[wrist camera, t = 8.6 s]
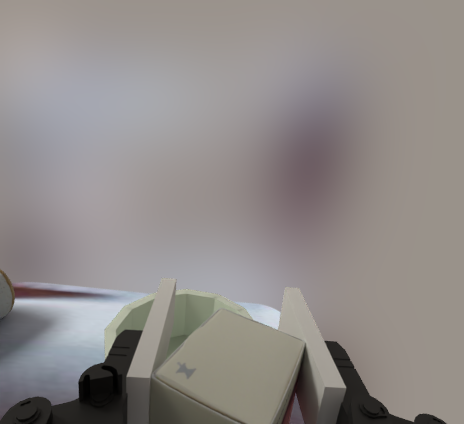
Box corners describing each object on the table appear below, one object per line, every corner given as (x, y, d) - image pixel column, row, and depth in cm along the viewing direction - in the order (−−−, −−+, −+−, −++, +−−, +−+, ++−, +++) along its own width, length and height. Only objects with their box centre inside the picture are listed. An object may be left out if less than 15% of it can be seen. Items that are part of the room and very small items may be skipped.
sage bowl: (177, 504, 23) (183, 433, 21) (76, 388, 31) (73, 329, 29) (277, 383, 34) (287, 330, 32) (183, 322, 43) (186, 277, 41)
